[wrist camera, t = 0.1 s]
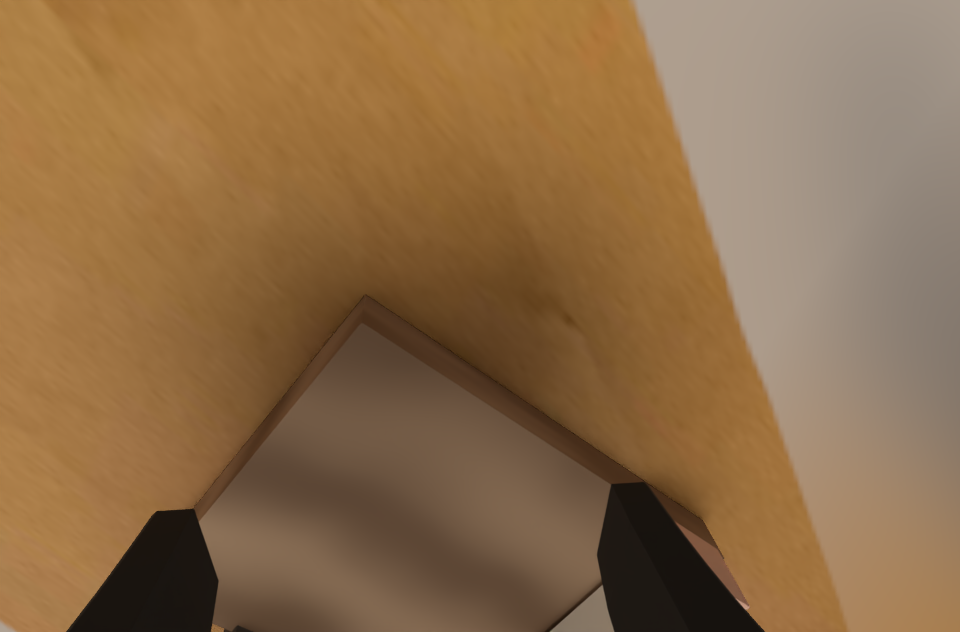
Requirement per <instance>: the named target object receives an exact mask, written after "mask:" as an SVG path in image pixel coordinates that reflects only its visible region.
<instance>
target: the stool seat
mask: <svg viewBox="0 0 960 632" xmlns="http://www.w3.org/2000/svg"><path fill="white" fill-rule="evenodd" d="M634 482H644V481H643V480H641V479H640V478H638V477H637V476H635V475H634V474H632V473H631V472H629V471H628V470H627V469H625V468H624V467H622V466H621V465H619V464H618V463H616V462H615V461H613V460H612V459H610V458H609V457H607V456H606V455H604V454H603V453H601V452H600V451H598V450H597V449H595V448H594V447H592V446H591V445H589V444H588V443H586V442H585V441H583V440H582V439H580V438H579V437H577V436H576V435H574V434H573V433H571V432H570V431H568V430H567V429H565V428H564V427H562V426H561V425H559V424H558V423H556V422H555V421H553V420H552V419H550V418H549V417H547V416H546V415H544V414H543V413H541V412H540V411H538V410H537V409H535V408H534V407H532V406H531V405H530V404H528V403H527V402H525V401H524V400H522V399H521V398H519V397H518V396H516V395H515V394H513V393H512V392H510V391H509V390H507V389H506V388H504V387H503V386H501V385H500V384H498V383H497V382H495V381H494V380H492V379H491V378H489V377H488V376H486V375H485V374H483V373H482V372H480V371H479V370H477V369H476V368H474V367H473V366H471V365H470V364H468V363H467V362H465V361H464V360H462V359H461V358H459V357H458V356H456V355H455V354H453V353H452V352H450V351H449V350H447V349H446V348H444V347H443V346H441V345H440V344H438V343H437V342H435V341H434V340H433V339H431V338H430V337H428V336H427V335H425V334H424V333H422V332H421V331H419V330H418V329H416V328H415V327H413V326H412V325H410V324H409V323H407V322H406V321H404V320H403V319H401V318H400V317H398V316H397V315H395V314H394V313H392V312H391V311H389V310H388V309H386V308H385V307H383V306H382V305H380V304H379V303H377V302H376V301H374V300H373V299H371V298H370V297H368V296H367V295H365V296H364V297H363V298H362V299H361V301H360V302H359V303H358V304H357V306H356V307H355V308H354V309H353V311H352V312H351V313H350V314H349V316H348V317H347V318H346V319H345V321H344V322H343V323H342V324H341V326H340V327H339V328H338V329H337V331H336V332H335V333H334V334H333V336H332V337H331V338H330V339H329V341H328V342H327V343H326V344H325V345H324V347H323V348H322V349H321V350H320V352H319V353H318V354H317V355H316V357H315V358H314V359H313V360H312V362H311V363H310V364H309V365H308V367H307V368H306V369H305V370H304V372H303V373H302V374H301V375H300V377H299V378H298V379H297V380H296V382H295V383H294V384H293V385H292V386H291V388H290V389H289V390H288V391H287V393H286V394H285V395H284V396H283V398H282V399H281V400H280V401H279V403H278V404H277V405H276V406H275V408H274V409H273V410H272V411H271V413H270V414H269V415H268V416H267V418H266V419H265V420H264V421H263V423H262V424H261V425H260V426H259V428H258V429H257V430H256V431H255V432H254V434H253V435H252V436H251V437H250V439H249V440H248V441H247V442H246V444H245V445H244V446H243V447H242V449H241V450H240V451H239V452H238V454H237V455H236V456H235V457H234V459H233V460H232V461H231V462H230V464H229V465H228V466H227V467H226V469H225V470H224V471H223V472H222V473H221V475H220V476H219V477H218V478H217V480H216V481H215V482H214V483H213V485H212V486H211V487H210V488H209V490H208V491H207V492H206V493H205V495H204V496H203V497H202V498H201V500H200V501H199V502H198V503H197V505H196V506H195V507H194V508H193V509H194V510H195V512H196V515H197V518H198V521H199V524H200V527H201V530H202V533H203V536H204V539H205V542H206V545H207V548H208V551H209V554H210V557H211V560H212V563H213V566H214V569H215V571H216V574H217V577H218V580H219V583H218V589H217V596H216V603H215V609H214V616H213V621H212V624H215V625H217V626H220V627H222V628H224V632H550V631H551V630H552V629H553V628H554V627H556V626H557V625H558V624H559V623H560V622H561V621H562V620H563V619H565V618H566V617H567V616H568V615H569V614H570V613H571V612H572V611H574V610H575V609H576V608H577V607H578V606H579V605H580V604H582V603H583V602H584V601H585V600H586V599H587V598H588V597H589V596H591V595H592V594H593V593H594V592H595V591H596V590H597V589H598V588H600V587H601V586H602V580H601V574H600V569H599V564H598V559H597V551H598V546H599V541H600V536H601V531H602V526H603V521H604V517H605V512H606V507H607V502H608V497H609V492H610V487H611V484H618V483H634ZM645 483H646V482H645ZM646 484H647V483H646ZM647 485H648V486H649V487H650V488H651V489H652V491H653V492H654V494H655V495H656V497H657V498H658V499H659V501H660V502H661V503H662V505H663V506H664V508H665V509H666V510H667V512H668V513H669V515H670V516H671V517H672V519H673V520H674V521H675V522H677V523H678V524H680V525H681V526H683V527H684V528H686V529H687V530H689V531H690V532H692V533H693V534H695V535H696V536H698V537H699V538H701V539H703V540H704V541H706V542H707V543H709V544H710V545H712V546H713V547H715V548H716V549H718V551H719V553H720V555H721V557H722V558H723V559H724V557H723V555H722V553H721V552H720V550H719V548H718V546H717V545H716V543H715V541H714V539H713V538H712V536H711V534H710V532H709V530H708V529H707V527H706V525H705V523H704V522H703V520H701V519H700V518H698V517H697V516H695V515H694V514H692V513H691V512H689V511H688V510H686V509H685V508H683V507H682V506H680V505H679V504H677V503H676V502H674V501H673V500H671V499H670V498H668V497H667V496H665V495H664V494H662V493H661V492H659V491H658V490H656V489H655V488H653V487H652V486H650V485H649V484H647Z"/></svg>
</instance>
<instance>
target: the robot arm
mask: <svg viewBox="0 0 960 632" xmlns="http://www.w3.org/2000/svg"><path fill="white" fill-rule="evenodd" d="M597 559H598V564H599V569H600V574H601V580H602V585H603V590H604V594H605V599H606V604H607V609H608V613H609V616H610V619H611V623H612V626H613V629H614V632H765V631H764V630H763V629H762V628H761V627H760V626H759V625H758V624H757V622H756V621H755V620H754V619H753V618H752V617H751V616H750V615H749V613H748V612H747V611H746V610H745V609H744V608H743V606H742V605H741V604H740V603H739V602H738V601H737V600H736V598H735V597H734V596H733V595H732V594H731V592H730V591H729V590H728V589H727V587H726V586H725V585H724V584H723V583H722V581H721V580H720V579H719V578H718V577H717V575H716V574H715V573H714V572H713V570H712V569H711V568H710V567H709V566H708V564H707V563H706V562H705V561H704V559H703V558H702V557H701V555H700V554H699V553H698V552H697V550H696V549H695V548H694V546H693V545H692V544H691V543H690V541H689V540H688V539H687V537H686V536H685V535H684V533H683V532H682V531H681V529H680V528H679V527H678V525H677V524H676V523H675V521H674V520H673V519H672V517H671V516H670V515H669V513H668V512H667V510H666V509H665V508H664V506H663V505H662V503H661V502H660V501H659V499H658V498H657V497H656V495H655V494H654V492H653V491H652V489H651V488H650V487H649V486H648V485H647V484H646V483H645V482H634V483H618V484H611V487H610V492H609V497H608V502H607V507H606V512H605V517H604V521H603V526H602V531H601V536H600V541H599V546H598V551H597ZM218 583H219V580H218V577H217V574H216V571H215V569H214V566H213V563H212V560H211V557H210V554H209V551H208V548H207V545H206V542H205V539H204V536H203V533H202V530H201V527H200V524H199V521H198V518H197V515H196V512H195V510H194V509H185V510H168V511H157V512H156V513H154V514H153V515H152V516H151V518H150V519H149V520H148V522H147V523H146V525H145V526H144V528H143V529H142V530H141V532H140V533H139V535H138V536H137V537H136V539H135V540H134V542H133V543H132V545H131V546H130V547H129V549H128V550H127V552H126V553H125V554H124V556H123V557H122V559H121V560H120V561H119V563H118V564H117V565H116V567H115V568H114V570H113V571H112V572H111V574H110V575H109V576H108V578H107V579H106V580H105V582H104V583H103V584H102V586H101V587H100V588H99V590H98V591H97V593H96V594H95V595H94V596H93V598H92V599H91V600H90V602H89V603H88V604H87V606H86V607H85V608H84V609H83V611H82V612H81V613H80V615H79V616H78V617H77V618H76V620H75V621H74V622H73V624H72V625H71V626H70V628H69V629H68V630H67V631H66V632H211V627H212V621H213V616H214V609H215V603H216V596H217V589H218Z"/></svg>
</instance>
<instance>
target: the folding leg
mask: <svg viewBox="0 0 960 632" xmlns="http://www.w3.org/2000/svg"><path fill="white" fill-rule="evenodd" d="M675 523H676V524H677V525H678V527H679V528H680V529H681V531H682V532H683V533H684V535H685V536H686V537H687V539H688V540H689V541H690V543H691V544H692V545H693V546H694V548H695V549H696V550H697V552H698V553H699V554H700V555H701V557H702V558H703V559H704V561H705V562H706V563H707V564H708V566H709V567H710V568H711V569H712V570H713V572H714V573H715V574H716V575H717V577H718V578H719V579H720V580H721V581H722V583H723V584H724V585H725V586H726V587H727V589H728V590H729V591H730V592H731V594H732V595H733V596H734V597H735V598H736V600H737V601H738V602H739V603H740V604H741V605H742V606H743V608H744V609H745V610H747V609H748V608H750V606H749V604H748V603H747V601H746V599H745V597H744V596H743V594H742V592H741V590H740V588H739V587H738V585H737V583H736V581H735V580H734V578H733V576H732V574H731V573H730V571H729V569H728V567H727V565H726V564H725V562H724V560H723V558H722V557H721V555H720V553H719V551H718V549H716V548H715V547H713V546H712V545H710V544H709V543H707V542H706V541H704V540H703V539H701V538H699V537H698V536H696V535H695V534H693V533H692V532H690V531H689V530H687V529H686V528H684V527H683V526H681V525H680V524H678V523H677V522H675ZM550 632H614V629H613V626H612V623H611V619H610V616H609V613H608V609H607V604H606V599H605V594H604V590H603V585H602V586H601V587H600V588H598V589H597V590H596V591H595V592H594V593H593V594H592V595H591V596H589V597H588V598H587V599H586V600H585V601H584V602H583V603H582V604H580V605H579V606H578V607H577V608H576V609H575V610H574V611H572V612H571V613H570V614H569V615H568V616H567V617H566V618H565V619H563V620H562V621H561V622H560V623H559V624H558V625H557V626H556V627H554V628H553V629H552V630H551V631H550Z"/></svg>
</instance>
